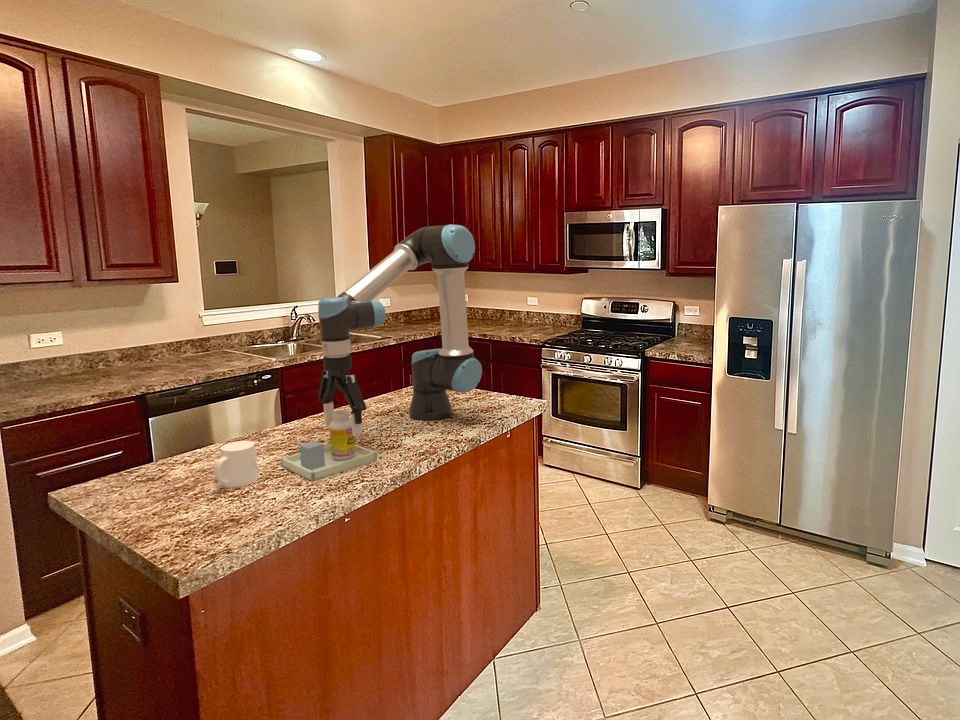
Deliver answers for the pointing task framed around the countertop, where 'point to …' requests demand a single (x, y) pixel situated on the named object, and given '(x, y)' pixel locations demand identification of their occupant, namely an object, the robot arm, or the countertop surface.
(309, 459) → the grey rectangular block
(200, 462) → the countertop surface
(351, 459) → the tray
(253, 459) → the mug
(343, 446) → the supplement bottle
